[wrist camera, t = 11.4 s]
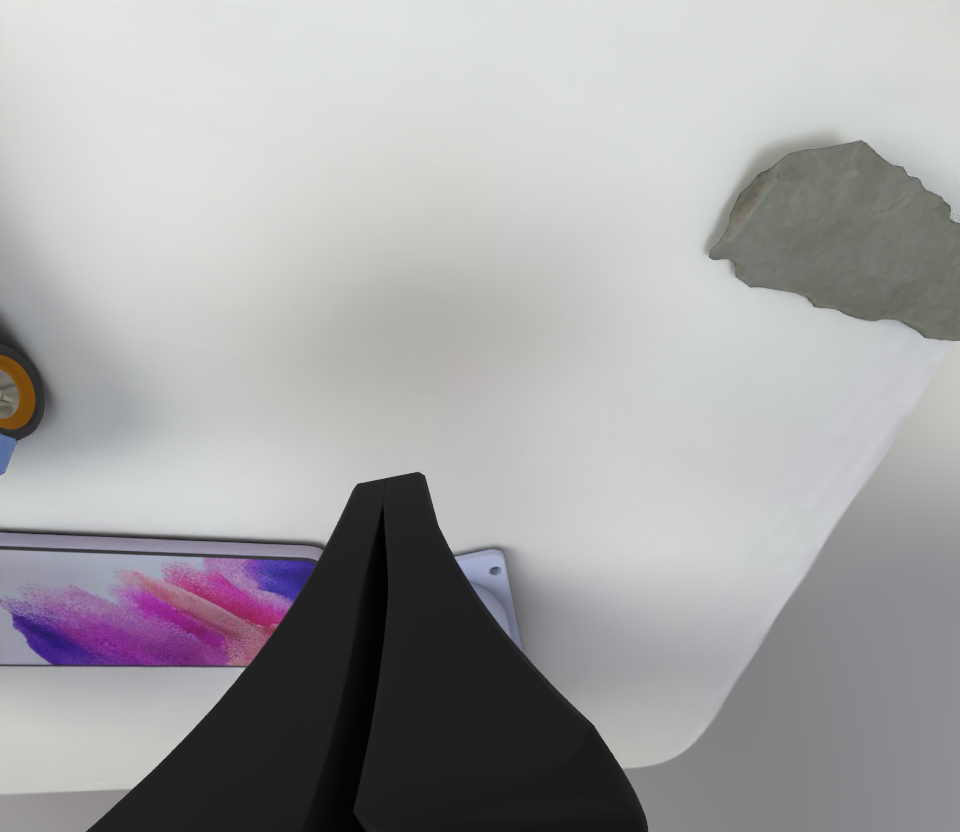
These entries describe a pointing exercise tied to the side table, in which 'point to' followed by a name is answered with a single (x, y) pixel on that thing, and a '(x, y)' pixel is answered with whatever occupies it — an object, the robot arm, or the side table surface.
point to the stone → (850, 239)
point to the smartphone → (143, 600)
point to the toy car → (17, 401)
